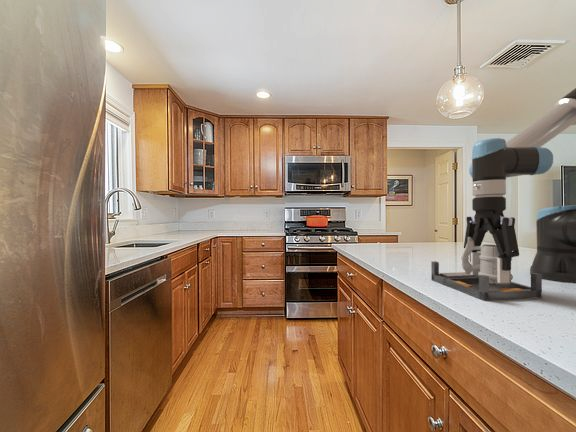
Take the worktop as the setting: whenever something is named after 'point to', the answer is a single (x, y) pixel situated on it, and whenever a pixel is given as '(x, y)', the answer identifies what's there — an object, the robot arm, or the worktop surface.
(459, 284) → the tray
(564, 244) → the robot arm
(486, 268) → the mug
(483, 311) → the worktop surface
